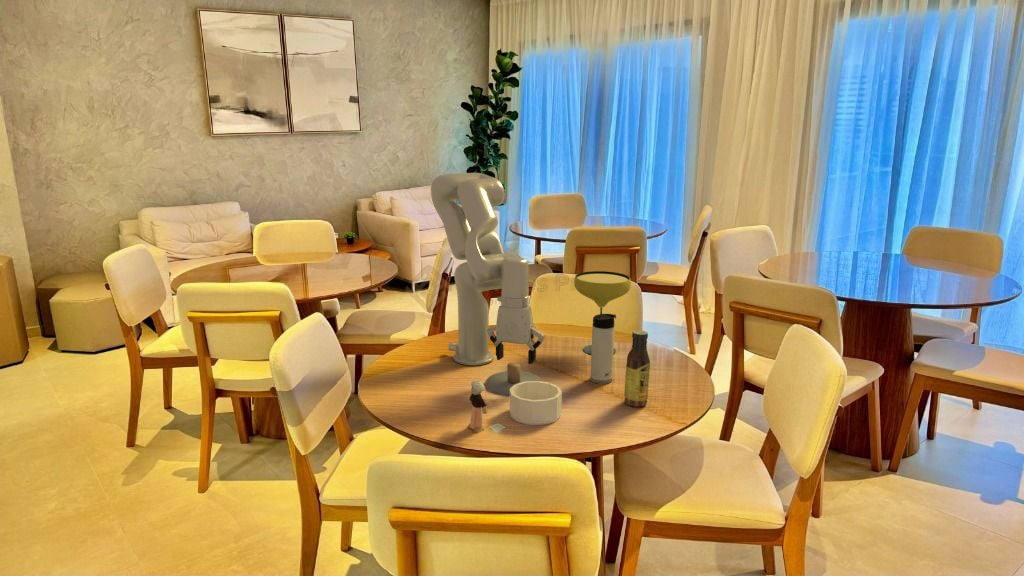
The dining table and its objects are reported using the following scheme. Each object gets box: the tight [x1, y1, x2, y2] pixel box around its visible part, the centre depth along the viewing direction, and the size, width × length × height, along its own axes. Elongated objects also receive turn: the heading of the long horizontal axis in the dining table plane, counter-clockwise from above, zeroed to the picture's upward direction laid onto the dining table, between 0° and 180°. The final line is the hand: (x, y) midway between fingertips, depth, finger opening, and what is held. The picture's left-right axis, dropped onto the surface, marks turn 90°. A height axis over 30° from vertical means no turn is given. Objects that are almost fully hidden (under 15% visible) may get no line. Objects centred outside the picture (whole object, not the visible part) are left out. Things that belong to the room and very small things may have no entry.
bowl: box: [509, 380, 563, 426], centre depth 171 cm, size 13×13×6 cm
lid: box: [485, 362, 542, 397], centre depth 190 cm, size 16×16×6 cm
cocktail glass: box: [573, 270, 632, 356], centre depth 217 cm, size 18×18×25 cm
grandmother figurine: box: [467, 379, 488, 433], centre depth 162 cm, size 8×4×13 cm, turn 45°
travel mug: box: [590, 313, 617, 385], centre depth 192 cm, size 6×7×20 cm
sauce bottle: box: [624, 330, 651, 408], centre depth 177 cm, size 7×6×20 cm
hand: (515, 360), depth 188 cm, fingers open, 9 cm apart
